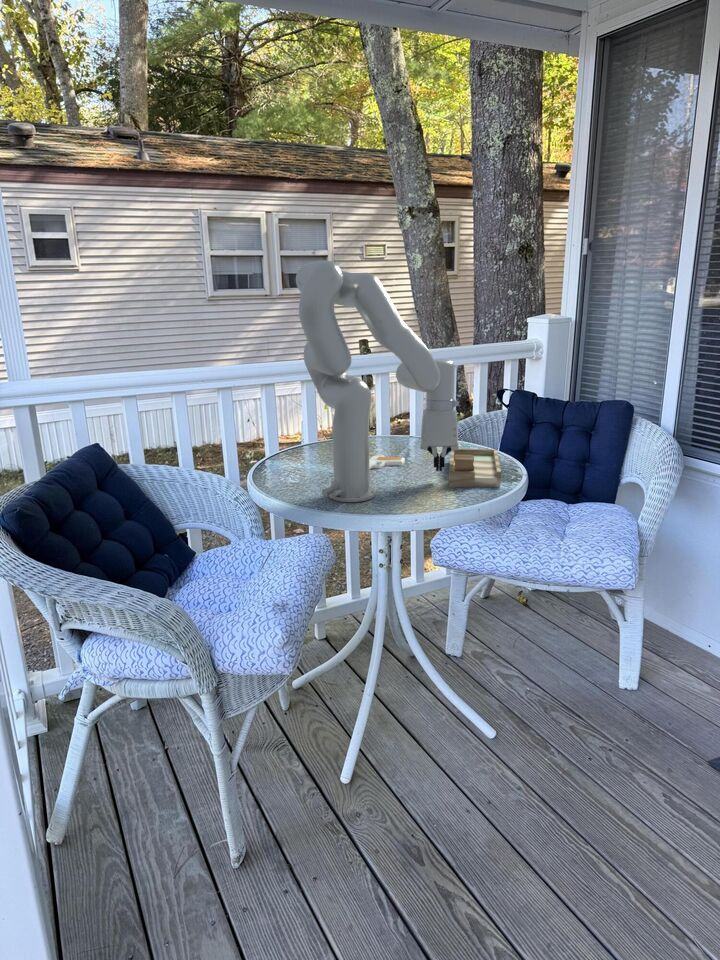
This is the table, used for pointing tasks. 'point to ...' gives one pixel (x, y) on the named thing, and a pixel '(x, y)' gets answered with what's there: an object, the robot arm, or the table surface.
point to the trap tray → (476, 470)
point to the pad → (483, 458)
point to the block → (463, 462)
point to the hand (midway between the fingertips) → (439, 469)
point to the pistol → (385, 461)
